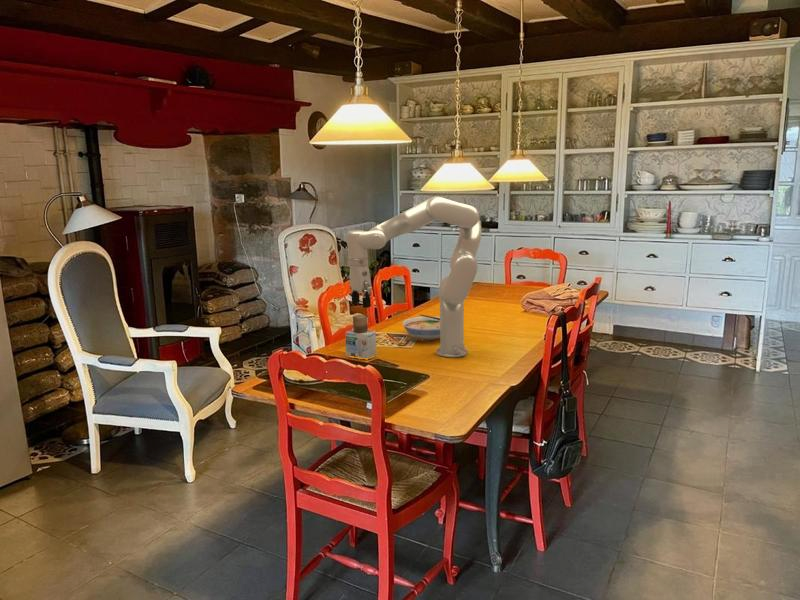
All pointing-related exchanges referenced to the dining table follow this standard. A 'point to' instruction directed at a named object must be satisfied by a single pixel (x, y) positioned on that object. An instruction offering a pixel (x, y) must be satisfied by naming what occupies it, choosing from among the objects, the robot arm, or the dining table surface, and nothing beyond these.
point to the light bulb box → (361, 344)
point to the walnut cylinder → (360, 324)
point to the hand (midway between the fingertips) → (361, 305)
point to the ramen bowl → (423, 327)
